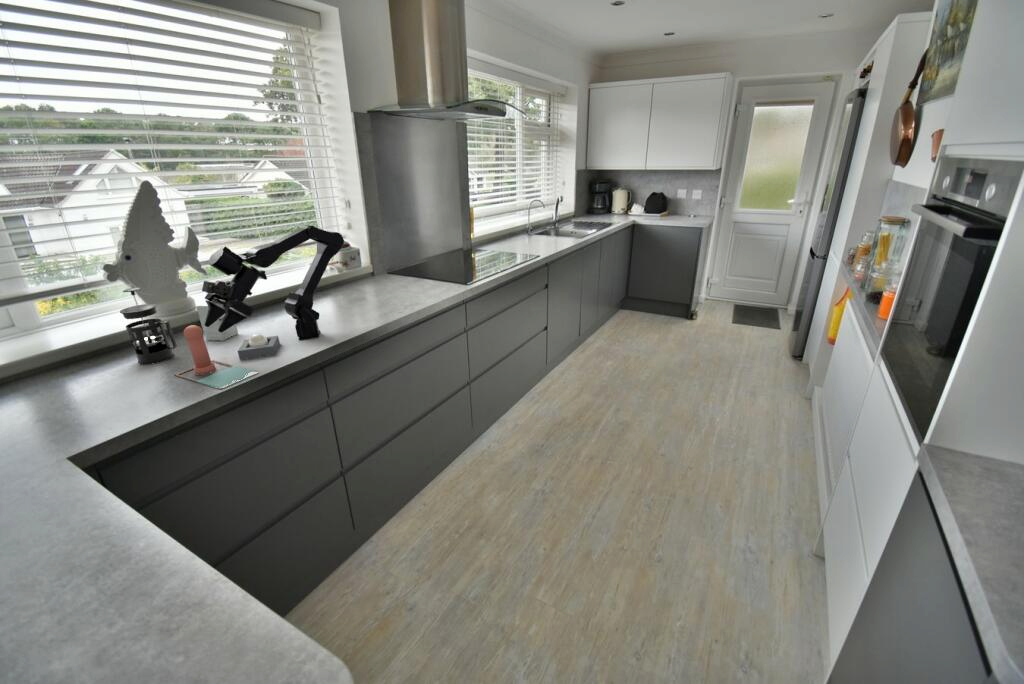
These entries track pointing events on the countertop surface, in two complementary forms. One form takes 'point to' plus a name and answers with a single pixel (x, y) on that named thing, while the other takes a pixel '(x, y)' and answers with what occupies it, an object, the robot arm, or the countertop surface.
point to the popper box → (259, 348)
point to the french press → (147, 352)
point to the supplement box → (214, 325)
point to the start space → (193, 368)
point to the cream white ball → (258, 340)
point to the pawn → (198, 350)
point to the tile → (225, 376)
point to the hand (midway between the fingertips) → (212, 329)
